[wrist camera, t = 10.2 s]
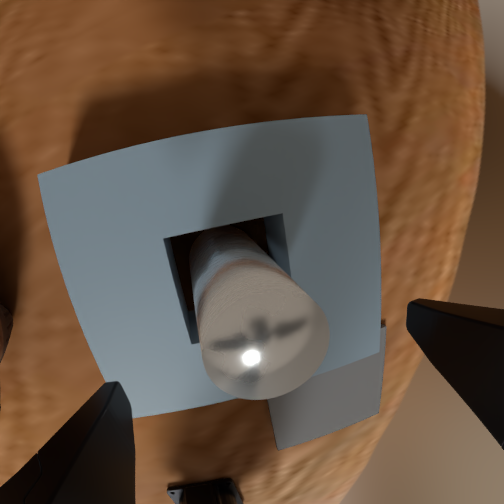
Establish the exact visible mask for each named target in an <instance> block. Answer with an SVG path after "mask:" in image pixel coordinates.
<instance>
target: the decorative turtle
mask: <svg viewBox="0 0 504 504" xmlns="http://www.w3.org/2000/svg"><path fill="white" fill-rule="evenodd" d="M12 327H13V318H12V316H11V314H10V312H9V311H8V310H7V309H6V308H5V307H3V306H2V305H1V304H0V363H1V360H2V358H3V356H4V353H5V351H6V347H7V345H8V342H9V338H10V335H11V330H12ZM0 409H1V406H0Z"/></svg>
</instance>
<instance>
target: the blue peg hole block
mask: <svg viewBox="0 0 504 504" xmlns="http://www.w3.org/2000/svg"><path fill="white" fill-rule="evenodd" d="M38 180H39V186H40V191H41V196H42V201H43V205H44V210H45V214H46V218H47V222H48V226H49V230H50V234H51V238H52V242H53V245H54V249H55V252H56V256H57V259H58V262H59V266H60V269H61V272H62V275H63V278H64V281H65V284H66V287H67V290H68V293H69V296H70V299H71V302H72V304H73V307H74V310H75V312H76V315H77V318H78V320H79V323H80V325H81V328H82V330H83V333H84V335H85V337H86V340H87V342H88V344H89V347H90V349H91V351H92V354H93V356H94V358H95V360H96V362H97V364H98V367H99V369H100V371H101V373H102V375H103V377H104V379H105V381H106V382H112V381H118V382H120V384H121V385H122V387H123V389H124V391H125V393H126V395H127V397H128V399H129V401H130V404H131V408H132V418H137V417H144V416H151V415H157V414H163V413H169V412H175V411H180V410H186V409H191V408H196V407H201V406H205V405H210V404H215V403H219V402H223V401H228V400H232V399H236V398H238V397H235V396H232V395H230V394H228V393H226V392H224V391H223V390H221V389H220V388H218V387H217V386H216V385H215V384H214V383H213V382H212V380H211V379H210V378H209V376H208V374H207V373H206V370H205V368H204V364H203V360H202V354H201V347H200V341H199V334H198V327H197V320H196V313H195V310H191V311H188V308H187V305H186V301H185V297H184V293H183V289H182V286H181V282H180V278H179V274H178V270H177V266H176V262H175V257H174V253H173V249H172V245H171V240H170V237H172V236H177V235H181V234H186V233H190V232H195V231H200V230H204V229H209V228H213V227H218V226H223V225H228V224H232V223H237V222H242V221H247V220H252V219H257V218H261V217H263V218H264V225H265V231H266V238H267V244H268V250H269V257H270V258H271V259H272V260H273V261H274V262H275V263H276V264H277V265H278V266H279V267H280V268H281V269H282V270H283V271H285V272H286V273H287V274H288V275H289V276H290V277H291V278H292V279H293V280H294V281H295V282H296V283H297V284H298V285H299V286H300V287H301V288H302V289H303V290H304V291H305V292H306V293H307V294H308V295H309V296H310V297H311V298H312V299H313V300H314V301H315V302H316V303H317V304H318V305H319V306H320V308H321V309H322V311H323V312H324V314H325V316H326V318H327V321H328V324H329V331H330V339H329V346H328V349H327V353H326V355H325V357H324V360H323V361H322V363H321V365H320V366H319V368H318V369H317V370H316V372H315V373H314V374H313V375H312V376H311V377H313V376H316V375H319V374H322V373H325V372H328V371H330V370H333V369H336V368H339V367H342V366H344V365H347V364H350V363H352V362H355V361H358V360H360V359H363V358H366V357H368V356H371V355H373V354H376V353H378V352H379V350H380V328H381V253H380V231H379V214H378V201H377V190H376V179H375V170H374V161H373V153H372V146H371V138H370V131H369V125H368V119H367V114H365V115H339V116H323V117H309V118H297V119H287V120H277V121H269V122H260V123H253V124H245V125H238V126H231V127H225V128H219V129H213V130H207V131H201V132H196V133H191V134H185V135H180V136H175V137H171V138H166V139H161V140H157V141H152V142H148V143H144V144H139V145H135V146H131V147H127V148H123V149H120V150H116V151H112V152H108V153H105V154H101V155H98V156H94V157H91V158H87V159H84V160H81V161H77V162H74V163H71V164H68V165H65V166H62V167H59V168H56V169H53V170H50V171H47V172H44V173H41V174H38Z"/></svg>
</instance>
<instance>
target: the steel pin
mask: <svg viewBox="0 0 504 504" xmlns="http://www.w3.org/2000/svg"><path fill="white" fill-rule="evenodd" d="M189 265H190V273H191V282H192V290H193V298H194V305H195V313H196V320H197V327H198V334H199V341H200V347H201V354H202V360H203V364H204V368H205V370H206V373H207V374H208V376H209V378H210V379H211V380H212V382H213V383H214V384H215V385H216V386H217V387H218V388H220V389H221V390H223V391H224V392H226V393H228V394H230V395H232V396H235V397H238V398H242V399H249V400H263V399H270V398H274V397H278V396H281V395H284V394H286V393H288V392H290V391H292V390H294V389H296V388H298V387H299V386H300V385H302V384H303V383H305V382H306V381H307V380H308V379H309V378H310V377H311V376H312V375H313V374H314V373H315V372H316V370H317V369H318V368H319V366H320V365H321V363H322V361H323V360H324V357H325V355H326V353H327V349H328V346H329V339H330V331H329V324H328V321H327V318H326V316H325V314H324V312H323V311H322V309H321V308H320V306H319V305H318V304H317V303H316V302H315V301H314V300H313V299H312V298H311V297H310V296H309V295H308V294H307V293H306V292H305V291H304V290H303V289H302V288H301V287H300V286H299V285H298V284H297V283H296V282H295V281H294V280H293V279H292V278H291V277H290V276H289V275H288V274H287V273H286V272H285V271H283V270H282V269H281V268H280V267H279V266H278V265H277V264H276V263H275V262H274V261H273V260H272V259H271V258H270V257H269V256H268V255H267V254H266V253H265V252H264V251H263V250H262V249H261V248H260V247H259V246H258V245H257V244H256V243H255V242H254V241H253V240H252V239H251V238H250V237H249V236H248V235H247V234H246V233H245V232H243V231H242V230H240V229H238V228H236V227H233V226H227V225H223V226H218V227H213V228H210V229H208V230H206V231H204V232H203V233H202V234H200V235H199V236H198V237H197V239H196V240H195V241H194V243H193V245H192V247H191V250H190V255H189Z"/></svg>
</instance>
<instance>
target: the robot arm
mask: <svg viewBox="0 0 504 504" xmlns="http://www.w3.org/2000/svg"><path fill="white" fill-rule="evenodd" d="M406 327H407V330H408V332H409V333H410V334H411V336H412V337H413V339H414V340H415V341H416V343H417V344H418V345H419V347H420V348H421V350H422V351H423V352H424V354H425V355H426V356H427V358H428V359H429V361H430V362H431V363H432V364H433V366H434V367H435V368H436V369H437V370H438V371H439V372H440V373H441V375H442V376H443V377H444V378H445V379H446V380H447V382H448V383H449V384H450V385H451V386H452V387H453V388H454V390H455V391H456V392H457V393H458V394H459V396H460V397H461V398H462V399H463V400H464V401H465V403H466V404H467V405H468V406H469V407H470V409H471V410H472V411H473V412H474V413H475V415H476V416H477V417H478V418H479V420H480V421H481V422H482V423H483V424H484V426H485V427H486V428H487V429H488V431H489V432H490V433H491V434H492V436H493V437H494V438H495V439H496V441H497V442H498V443H499V444H500V446H502V449H503V450H504V309H496V308H488V307H481V306H473V305H465V304H458V303H450V302H443V301H435V300H428V299H421V298H419V299H416V300H413V301H411V302H409V303H408V306H407V319H406ZM167 494H168V495H169V496H170V498H171V499H172V500H173V501H174V503H175V504H243V501H242V499H241V497H240V495H239V493H238V491H237V488H236V486H235V484H234V482H233V480H232V479H231V478H225V479H221V480H215V481H210V482H204V483H199V484H192V485H186V486H178V487H171V488H168V489H167ZM0 504H135V443H134V432H133V420H132V408H131V404H130V401H129V399H128V397H127V395H126V393H125V391H124V389H123V387H122V385H121V384H120V382H118V381H112V382H106V383H104V384H103V385H102V386H101V387H100V388H99V389H98V390H97V391H96V392H95V393H94V394H93V395H92V396H91V397H90V399H89V400H88V401H87V402H86V403H85V404H84V405H83V406H82V407H81V408H80V409H79V410H78V411H77V412H76V413H75V414H74V415H73V416H72V417H71V418H70V419H69V420H68V421H67V422H66V423H65V424H64V425H63V426H62V427H61V428H60V429H59V430H58V431H57V432H56V433H55V434H54V435H53V436H52V437H51V438H50V439H49V441H48V442H47V443H46V444H45V445H44V446H43V447H42V448H41V449H40V450H39V451H38V454H37V453H36V454H35V455H34V456H33V457H32V458H31V459H30V460H29V461H28V462H27V463H26V464H25V465H24V466H23V467H22V468H21V469H20V470H19V471H18V472H17V473H16V474H15V475H14V476H13V477H11V478H10V479H9V480H8V481H7V482H6V483H5V484H3V485H2V486H1V487H0Z"/></svg>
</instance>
